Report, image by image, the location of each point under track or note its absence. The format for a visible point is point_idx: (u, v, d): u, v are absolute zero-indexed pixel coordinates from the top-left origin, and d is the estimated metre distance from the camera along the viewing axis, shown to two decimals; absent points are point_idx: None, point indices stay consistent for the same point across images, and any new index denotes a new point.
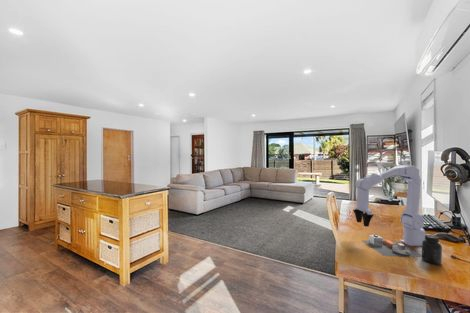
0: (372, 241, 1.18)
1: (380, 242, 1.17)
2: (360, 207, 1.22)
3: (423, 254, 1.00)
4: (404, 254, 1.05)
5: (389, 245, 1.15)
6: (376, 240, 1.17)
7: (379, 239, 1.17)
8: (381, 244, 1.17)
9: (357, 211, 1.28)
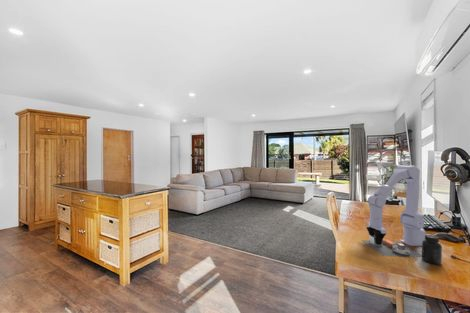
0: (372, 241, 1.18)
1: None
2: (373, 225, 1.17)
3: (423, 254, 1.00)
4: (404, 254, 1.05)
5: (389, 245, 1.15)
6: None
7: None
8: (381, 244, 1.17)
9: (371, 229, 1.22)
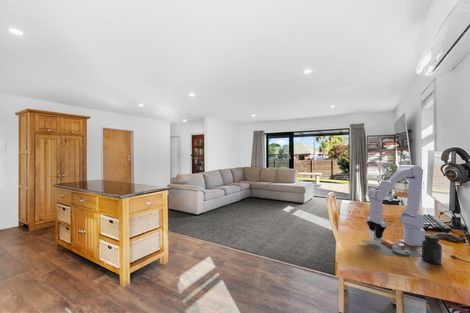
0: (372, 235, 1.18)
1: None
2: (373, 219, 1.18)
3: (423, 254, 1.00)
4: (404, 254, 1.05)
5: (389, 245, 1.15)
6: None
7: None
8: (381, 238, 1.17)
9: (371, 223, 1.22)
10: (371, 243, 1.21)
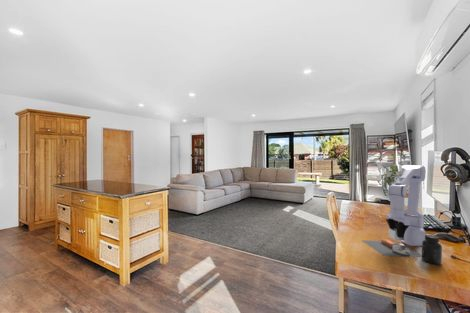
0: (392, 235, 1.10)
1: None
2: (395, 216, 1.09)
3: (423, 254, 1.00)
4: (404, 254, 1.05)
5: (389, 245, 1.15)
6: None
7: None
8: (402, 238, 1.08)
9: (391, 221, 1.13)
10: (371, 243, 1.21)
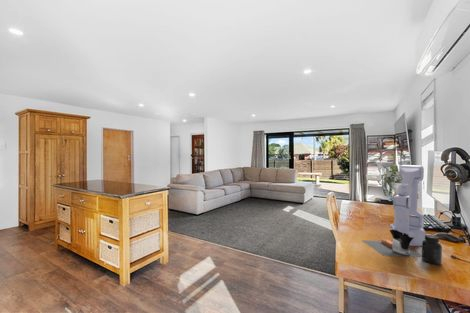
0: (397, 245, 1.08)
1: None
2: (399, 228, 1.07)
3: (423, 254, 1.00)
4: (404, 254, 1.05)
5: (389, 245, 1.15)
6: None
7: None
8: None
9: (395, 232, 1.11)
10: (371, 243, 1.21)
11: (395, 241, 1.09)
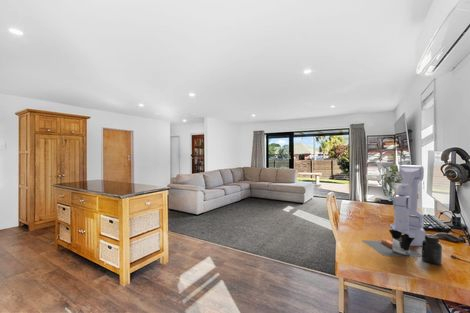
0: (397, 245, 1.08)
1: None
2: (399, 228, 1.07)
3: (423, 254, 1.00)
4: (404, 254, 1.05)
5: (389, 245, 1.15)
6: None
7: None
8: None
9: (395, 232, 1.12)
10: (371, 243, 1.21)
11: (395, 241, 1.09)
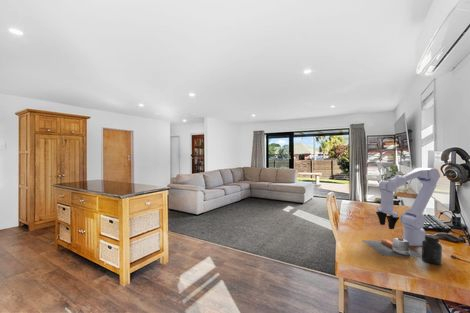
0: (397, 245, 1.08)
1: (406, 246, 1.06)
2: (385, 209, 1.20)
3: (423, 254, 1.00)
4: (404, 254, 1.05)
5: (389, 245, 1.15)
6: (402, 244, 1.07)
7: (405, 243, 1.06)
8: (407, 248, 1.06)
9: (380, 213, 1.25)
10: (371, 243, 1.21)
11: (395, 241, 1.09)
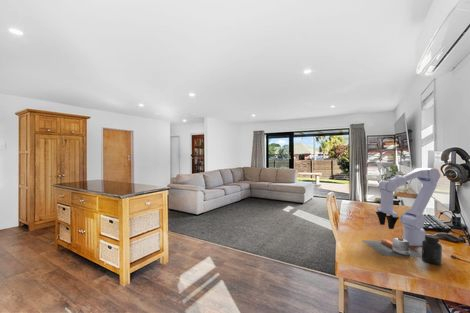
0: (397, 245, 1.08)
1: (406, 246, 1.06)
2: (384, 209, 1.20)
3: (423, 254, 1.00)
4: (404, 254, 1.05)
5: (389, 245, 1.15)
6: (402, 244, 1.07)
7: (405, 243, 1.06)
8: (407, 248, 1.06)
9: (380, 213, 1.26)
10: (371, 243, 1.21)
11: (395, 241, 1.09)
